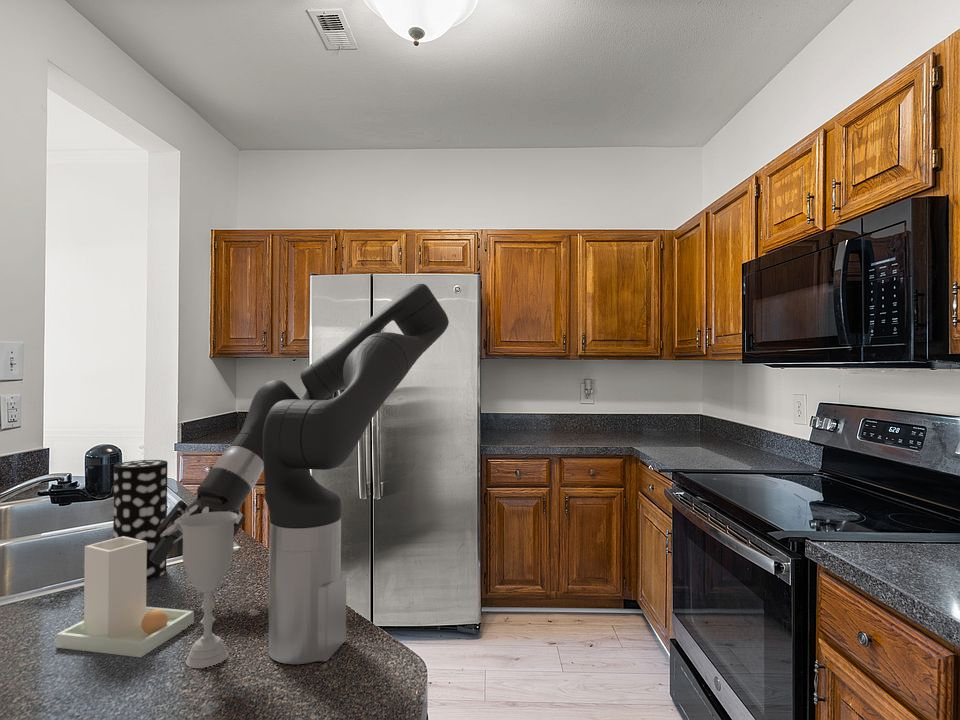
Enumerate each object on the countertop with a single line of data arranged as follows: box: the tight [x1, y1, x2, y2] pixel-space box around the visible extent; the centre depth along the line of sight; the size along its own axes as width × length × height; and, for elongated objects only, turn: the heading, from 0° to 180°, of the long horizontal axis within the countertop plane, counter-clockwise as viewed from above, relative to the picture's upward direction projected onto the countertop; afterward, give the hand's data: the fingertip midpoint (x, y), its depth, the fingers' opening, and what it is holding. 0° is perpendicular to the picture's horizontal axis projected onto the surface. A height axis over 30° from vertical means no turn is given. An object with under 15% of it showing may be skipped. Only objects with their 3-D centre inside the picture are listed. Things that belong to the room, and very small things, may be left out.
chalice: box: [179, 512, 238, 669], centre depth 76 cm, size 7×7×18 cm
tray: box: [55, 605, 195, 658], centre depth 82 cm, size 13×10×2 cm
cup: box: [83, 536, 147, 638], centre depth 83 cm, size 5×5×12 cm
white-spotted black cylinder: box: [112, 459, 169, 582], centre depth 105 cm, size 8×8×20 cm
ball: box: [141, 609, 168, 635], centre depth 81 cm, size 3×3×3 cm
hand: (172, 566), depth 91 cm, fingers open, 8 cm apart
